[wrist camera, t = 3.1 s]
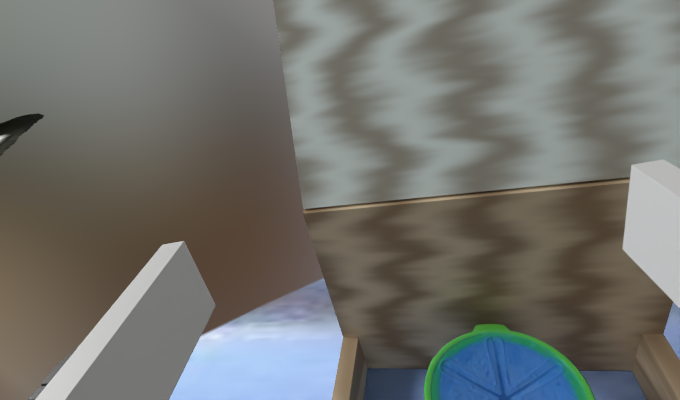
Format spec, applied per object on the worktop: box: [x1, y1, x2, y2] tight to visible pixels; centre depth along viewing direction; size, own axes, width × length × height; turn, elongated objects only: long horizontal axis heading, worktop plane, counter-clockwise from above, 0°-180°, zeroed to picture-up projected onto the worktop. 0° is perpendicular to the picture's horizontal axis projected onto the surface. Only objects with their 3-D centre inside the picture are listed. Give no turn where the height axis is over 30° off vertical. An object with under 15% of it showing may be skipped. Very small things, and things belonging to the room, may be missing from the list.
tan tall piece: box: [273, 0, 680, 400], centre depth 28 cm, size 27×20×42 cm
